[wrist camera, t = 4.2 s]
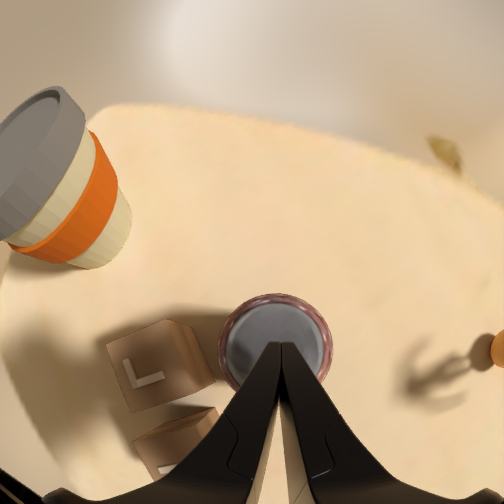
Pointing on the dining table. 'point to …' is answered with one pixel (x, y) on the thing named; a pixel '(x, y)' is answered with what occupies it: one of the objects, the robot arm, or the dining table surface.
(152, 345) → the block seven
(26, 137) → the reusable coffee cup
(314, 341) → the supplement bottle
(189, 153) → the dining table surface
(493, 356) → the figurine
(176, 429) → the block one
